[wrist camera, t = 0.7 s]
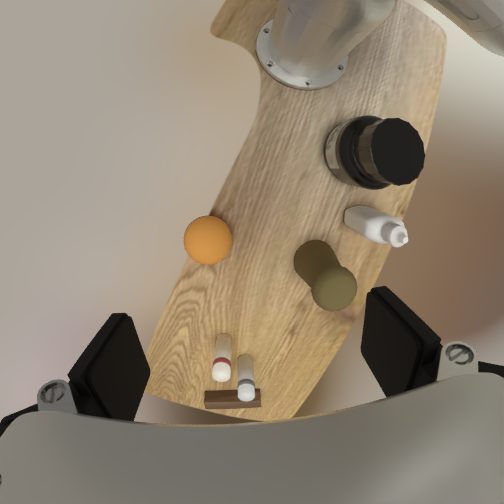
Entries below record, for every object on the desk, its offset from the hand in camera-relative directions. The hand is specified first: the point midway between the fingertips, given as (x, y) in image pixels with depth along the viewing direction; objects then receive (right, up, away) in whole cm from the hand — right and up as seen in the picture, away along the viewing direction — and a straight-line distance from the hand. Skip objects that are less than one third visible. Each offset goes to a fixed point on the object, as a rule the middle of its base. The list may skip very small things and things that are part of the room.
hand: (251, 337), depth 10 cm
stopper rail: (-4, -23, +36) cm, 42 cm away
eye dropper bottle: (+15, +8, +27) cm, 32 cm away
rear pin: (-1, -15, +33) cm, 36 cm away
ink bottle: (+14, +17, +24) cm, 32 cm away
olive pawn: (+9, +2, +28) cm, 30 cm away
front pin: (-4, -11, +32) cm, 34 cm away
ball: (-5, +5, +24) cm, 25 cm away
